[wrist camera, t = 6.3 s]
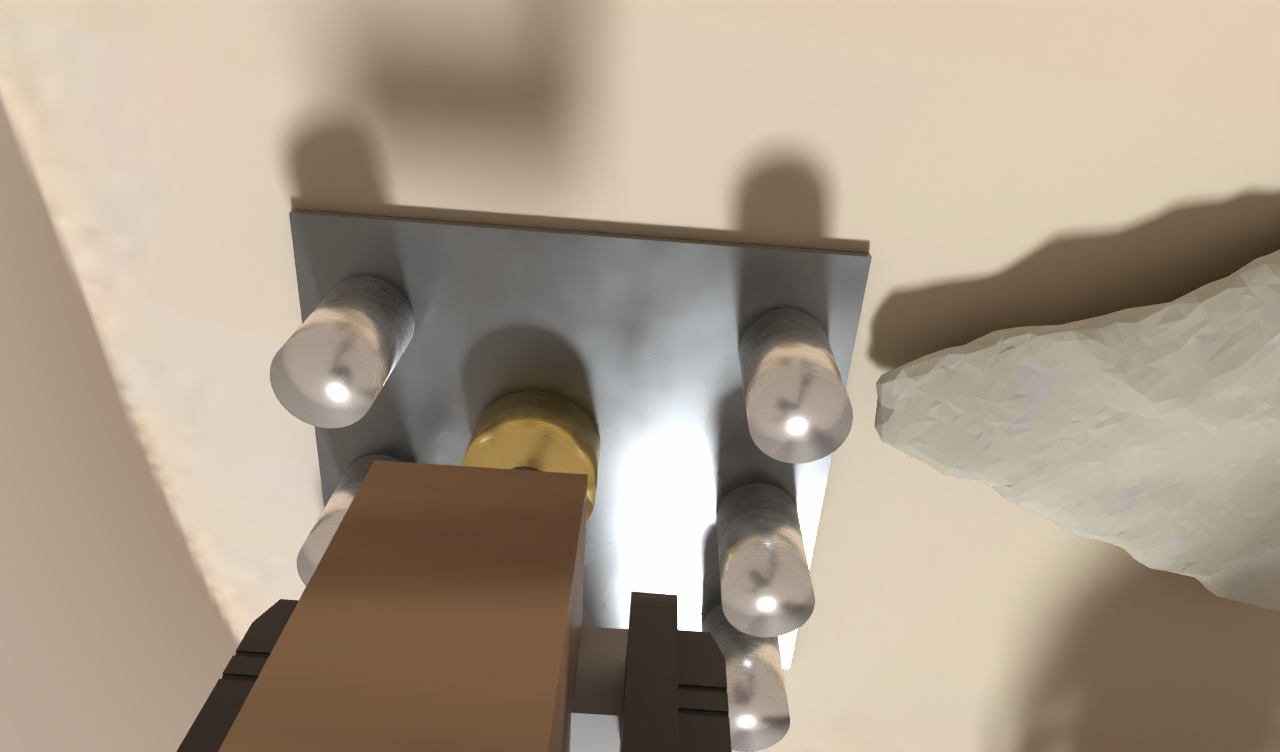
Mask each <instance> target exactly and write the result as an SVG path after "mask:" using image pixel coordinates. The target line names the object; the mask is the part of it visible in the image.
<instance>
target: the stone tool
mask: <svg viewBox="0 0 1280 752" xmlns="http://www.w3.org/2000/svg"><path fill="white" fill-rule="evenodd" d="M876 385H877V394H878V400H877V409H876V418H875V428H876V430H877V432H878V434H879V436H880V438H881V440H882V442H884V443H886V444H888V445H890V446H892V447H894V448H896V449H898V450H900V451H902V452H904V453H906V454H908V455H910V456H912V457H914V458H916V459H918V460H921V461H923V462H925V463H927V464H928V465H930V466H931V467H933V468H934V469H936V470H937V471H939V472H940V473H942V474H943V475H946V476H951V477H957V478H962V479H968V480H973V481H977V482H980V483H983V484H986V485H989V486H992V487H993V488H994V489H995V490H996V491H997V492H998V493H999V494H1000V495H1001V496H1002V497H1003V498H1005V499H1006V500H1008V501H1010V502H1012V503H1014V504H1016V505H1018V506H1020V507H1022V508H1023V509H1025V510H1028V511H1030V512H1033V513H1035V514H1038V515H1040V516H1042V517H1045V518H1047V519H1049V520H1050V521H1052V522H1053V523H1055V524H1057V525H1058V526H1060V527H1061V528H1063V529H1065V530H1066V531H1068V532H1070V533H1071V534H1073V535H1077V536H1082V537H1086V538H1091V539H1095V540H1100V541H1104V542H1108V543H1111V544H1114V545H1116V546H1119V547H1121V548H1124V549H1125V550H1126V551H1127V552H1128V553H1129V554H1130V555H1131V556H1132V557H1133V559H1135V560H1137V561H1138V562H1140V563H1142V564H1143V565H1145V566H1147V567H1149V568H1151V569H1157V570H1163V571H1168V572H1173V573H1177V574H1182V575H1187V576H1191V577H1194V578H1196V579H1197V580H1198V581H1199V582H1200V583H1201V584H1202V585H1203V586H1204V587H1205V588H1206V589H1207V590H1209V591H1210V592H1212V593H1213V594H1215V595H1216V596H1219V597H1222V598H1225V599H1229V600H1232V601H1236V602H1240V603H1245V604H1249V605H1253V606H1257V607H1261V608H1265V609H1268V610H1274V611H1280V249H1279V250H1277V251H1275V252H1273V253H1271V254H1268V255H1266V256H1262V257H1258V258H1256V259H1255V260H1253V261H1251V262H1250V263H1248V264H1247V265H1245V266H1244V267H1242V268H1240V269H1239V270H1237V271H1236V272H1234V273H1233V274H1231V275H1229V276H1228V277H1225V278H1222V279H1220V280H1217V281H1214V282H1211V283H1208V284H1206V285H1204V286H1202V287H1200V288H1198V289H1196V290H1194V291H1192V292H1190V293H1188V294H1186V295H1184V296H1182V297H1180V298H1178V299H1176V300H1174V301H1172V302H1168V303H1161V304H1155V305H1148V306H1141V307H1135V308H1128V309H1123V310H1120V311H1116V312H1113V313H1109V314H1106V315H1102V316H1097V317H1093V318H1089V319H1084V320H1080V321H1075V322H1070V323H1066V324H1061V325H1045V326H1024V327H1015V328H1008V329H1002V330H996V331H993V332H991V333H989V334H986V335H984V336H982V337H980V338H978V339H976V340H974V341H972V342H969V343H967V344H965V345H961V346H956V347H950V348H945V349H942V350H940V351H937V352H934V353H931V354H928V355H925V356H923V357H920V358H918V359H916V360H913V361H911V362H908V363H906V364H904V365H902V366H900V367H897V368H895V369H893V370H891V371H889V372H887V373H885V374H883V375H882V376H881V377H880V379H879V380H878V381H877V383H876Z"/></svg>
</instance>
